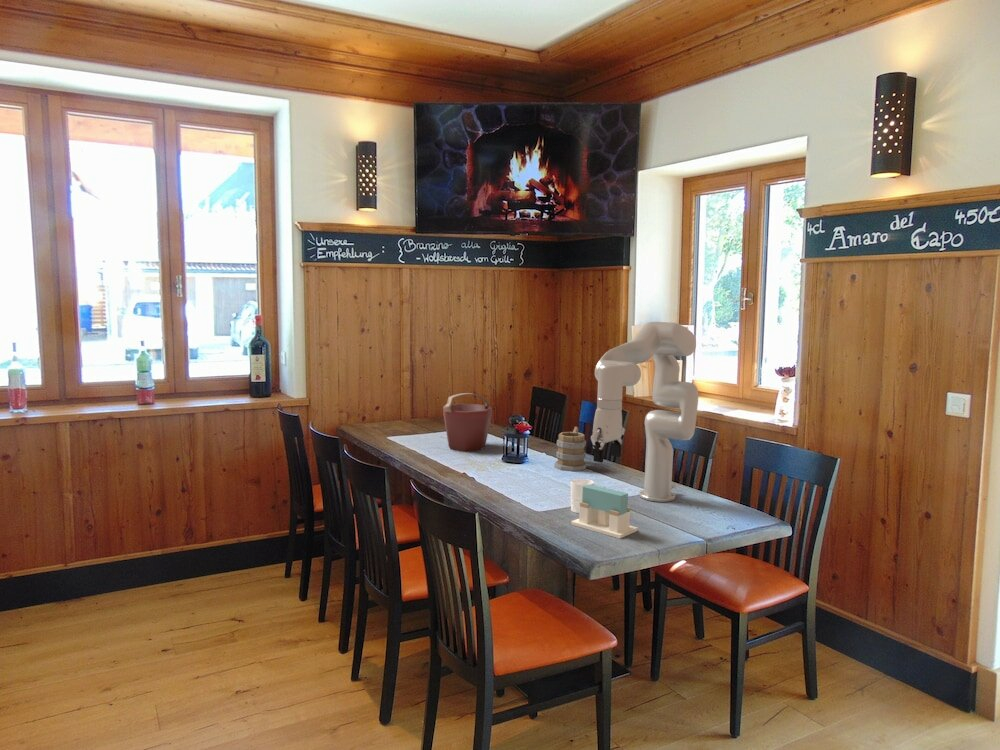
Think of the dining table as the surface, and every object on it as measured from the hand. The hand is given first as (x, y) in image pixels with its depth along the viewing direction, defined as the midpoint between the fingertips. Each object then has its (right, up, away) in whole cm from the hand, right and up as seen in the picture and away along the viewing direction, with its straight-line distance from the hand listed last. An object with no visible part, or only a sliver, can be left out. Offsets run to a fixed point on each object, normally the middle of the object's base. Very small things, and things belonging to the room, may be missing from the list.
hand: (607, 459), depth 224 cm
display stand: (-1, -22, +2) cm, 22 cm away
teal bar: (-1, -16, +2) cm, 16 cm away
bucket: (-49, -8, +110) cm, 121 cm away
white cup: (-6, -20, +19) cm, 28 cm away
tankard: (-3, -12, +81) cm, 82 cm away
